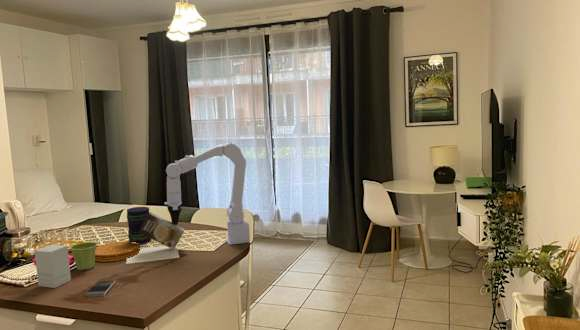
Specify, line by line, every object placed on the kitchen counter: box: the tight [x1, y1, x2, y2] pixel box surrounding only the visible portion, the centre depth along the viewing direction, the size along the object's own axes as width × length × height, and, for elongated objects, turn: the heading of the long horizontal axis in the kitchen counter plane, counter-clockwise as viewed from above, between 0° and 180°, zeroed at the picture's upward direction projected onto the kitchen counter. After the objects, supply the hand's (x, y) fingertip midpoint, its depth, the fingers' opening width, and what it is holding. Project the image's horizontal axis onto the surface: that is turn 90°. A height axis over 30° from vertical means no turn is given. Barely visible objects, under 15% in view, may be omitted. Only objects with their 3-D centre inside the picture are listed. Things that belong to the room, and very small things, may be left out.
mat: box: [125, 244, 180, 265], centre depth 177 cm, size 20×18×1 cm
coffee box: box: [139, 211, 185, 250], centre depth 180 cm, size 9×6×16 cm
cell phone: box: [85, 280, 116, 298], centre depth 142 cm, size 6×11×1 cm, turn 4°
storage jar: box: [126, 206, 152, 245], centre depth 195 cm, size 10×10×15 cm
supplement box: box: [34, 244, 72, 289], centre depth 148 cm, size 7×7×13 cm
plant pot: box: [69, 241, 98, 271], centre depth 163 cm, size 9×9×9 cm
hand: (174, 223), depth 183 cm, fingers open, 4 cm apart
